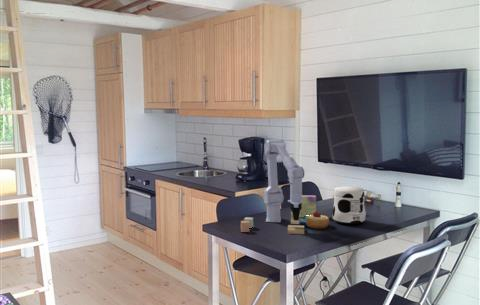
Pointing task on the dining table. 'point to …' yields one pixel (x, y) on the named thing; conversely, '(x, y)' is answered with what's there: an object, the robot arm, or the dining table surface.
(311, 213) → the box
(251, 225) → the sage block
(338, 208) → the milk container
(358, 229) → the dining table surface
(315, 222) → the pastry
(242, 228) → the terracotta block
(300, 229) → the oak slab
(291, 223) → the maple block
